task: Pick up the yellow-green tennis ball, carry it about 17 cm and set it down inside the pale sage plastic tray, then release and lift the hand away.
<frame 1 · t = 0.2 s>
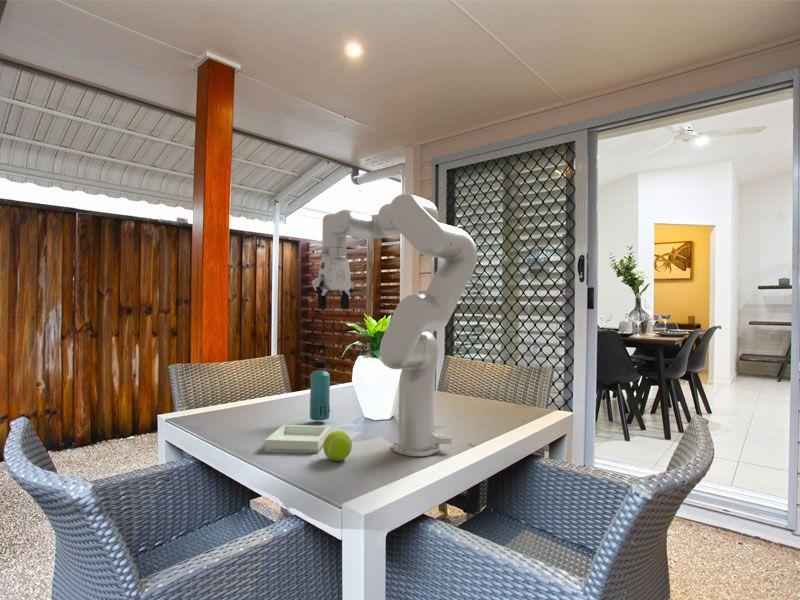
hand: (333, 308, 134), 37 cm above the table, tool pointing down, fingers open, 9 cm apart
tennis ball: (337, 460, 106), on the table
tray: (299, 443, 118), on the table
beverage bottle: (319, 423, 138), on the table
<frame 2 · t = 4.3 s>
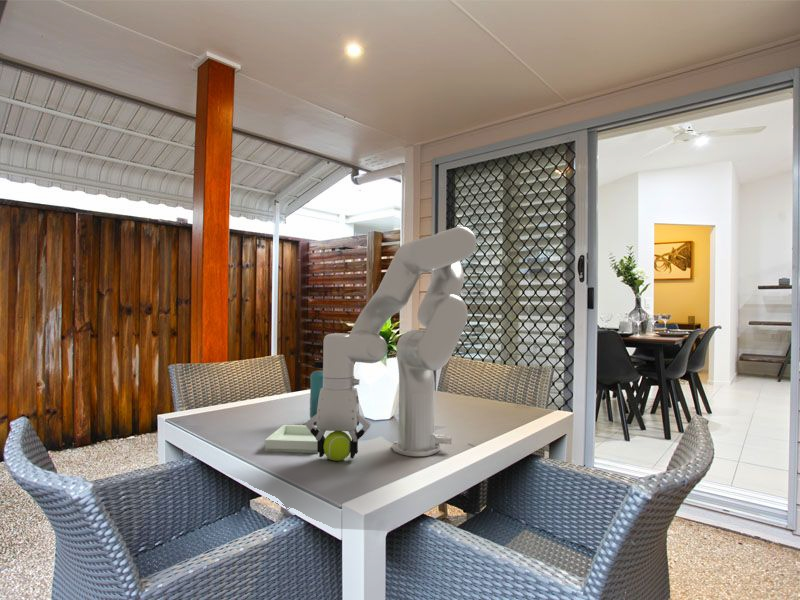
hand: (337, 455, 106), 1 cm above the table, tool pointing down, fingers closed on tennis ball, 7 cm apart
tennis ball: (337, 460, 106), on the table, touching gripper
everything else where it was.
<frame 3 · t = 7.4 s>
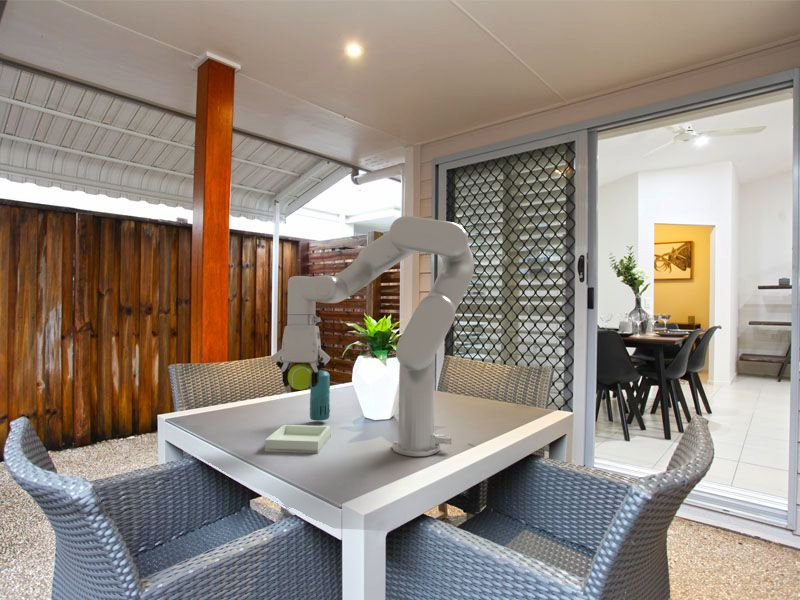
hand: (300, 385, 118), 16 cm above the table, tool pointing down, fingers closed on tennis ball, 7 cm apart
tennis ball: (300, 390, 118), point 15 cm above the table, touching gripper
everything else where it was.
when the fingers open (4 cm above the table, at t = 10.6 s): tennis ball drops 2 cm, resting on tray.
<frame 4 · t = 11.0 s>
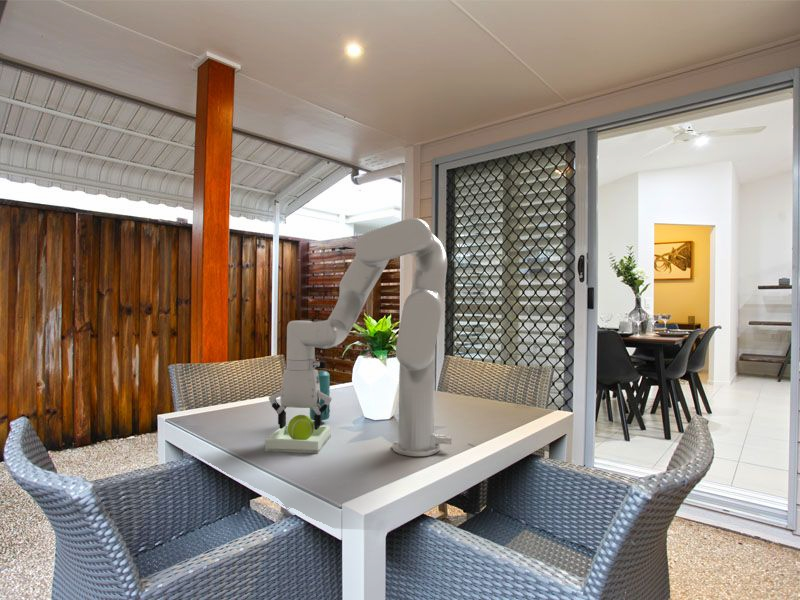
hand: (299, 427, 118), 4 cm above the table, tool pointing down, fingers open, 9 cm apart
tennis ball: (300, 441, 117), point 1 cm above the table, touching tray
everything else where it was.
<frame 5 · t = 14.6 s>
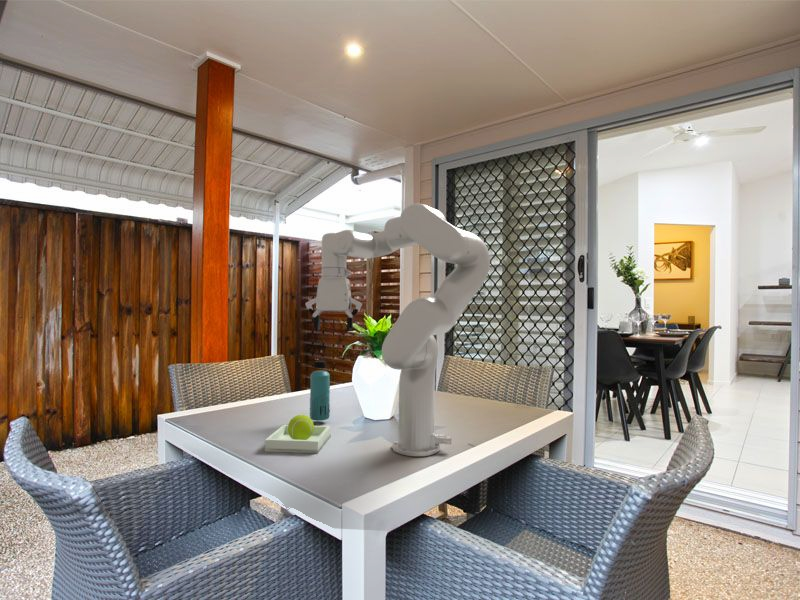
hand: (333, 330, 130), 30 cm above the table, tool pointing down, fingers open, 9 cm apart
nothing on the table moved.
at the end: tennis ball inside the target area on the tray (0.3 cm from its centre), point 0.6 cm above the tray's base; the gripper is holding nothing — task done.
